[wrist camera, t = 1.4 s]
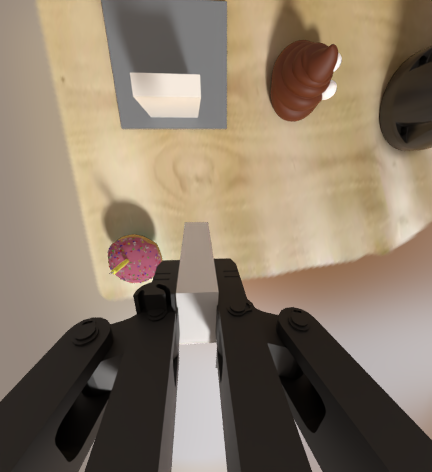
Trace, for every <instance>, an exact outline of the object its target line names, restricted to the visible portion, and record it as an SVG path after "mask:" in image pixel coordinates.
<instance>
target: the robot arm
mask: <svg viewBox="0 0 432 472" xmlns="http://www.w3.org/2000/svg"><path fill="white" fill-rule="evenodd" d="M380 125H381V130H382V133H383V135H384V137H385V139H386V140H387V142H388V143H389V144H390V145H391V146H393V147H394V148H396V149H399V150H404V151H411V150H423V149H428V148H432V46H430V47H428V48H426V49H424V50H422V51H420V52H418V53H416V54H414V55H413V56H411V57H410V58H409V59H408V60H406V61H405V62H404V63H403V64H402V65H401V66H400V68H399V69H398V70H397V71H396V73H395V74H394V75H393V77H392V79H391V80H390V82H389V84H388V86H387V88H386V90H385V93H384V96H383V99H382V103H381V109H380ZM133 297H134V301H135V306H136V312H137V314H136V315H135V316H133V317H131V318H129V319H126V320H124V321H121V322H117V323H114V324H110V323H109V322H108V321H107V320H106V319H103V318H90V319H86V320H83V321H81V322H80V323H78V324H76V325H74V326H73V327H72V328H71V329H69V330H68V331H67V332H66V333H65V334H64V335H63V336H62V337H61V338H60V339H59V340H58V341H57V343H56V344H55V345H54V346H53V347H52V348H51V349H50V350H49V351H48V352H47V353H46V354H45V355H44V356H43V357H42V359H40V361H39V362H38V363H37V364H36V365H35V366H34V367H33V368H32V369H31V370H30V371H29V372H28V373H27V374H26V375H25V376H24V377H23V378H22V380H21V381H20V382H19V383H18V384H17V385H16V386H15V387H14V388H13V389H12V390H11V391H10V392H9V393H8V394H7V395H6V396H5V397H4V399H3V400H2V401H1V402H0V472H78V471H79V469H80V467H81V465H82V463H83V462H84V459H85V457H86V456H87V454H88V452H89V450H90V448H91V446H92V444H93V442H94V440H95V442H94V445H93V448H92V451H91V454H90V457H89V460H88V463H87V466H86V469H85V472H171V467H172V453H173V439H174V425H175V410H176V397H177V396H176V395H177V383H178V382H177V381H178V368H179V345H182V344H198V343H214V342H217V357H216V358H217V359H216V368H218V376H219V387H220V398H221V408H222V419H223V430H224V441H225V451H226V462H227V472H312V470H311V467H310V464H309V461H308V458H307V456H306V453H305V450H304V447H303V444H302V441H301V438H300V436H299V433H298V430H297V427H296V424H297V425H298V427H299V429H300V430H301V433H302V435H303V436H304V438H305V440H306V442H307V444H308V446H309V447H310V449H311V451H312V453H313V455H314V457H315V459H316V460H317V462H318V464H319V465H320V468H321V470H322V471H323V472H432V440H431V439H430V438H429V437H428V436H427V435H426V434H425V433H424V432H423V431H422V429H420V427H419V426H418V425H417V424H416V423H415V422H414V421H413V420H412V419H411V418H410V417H409V416H408V415H407V414H406V413H405V412H404V411H403V410H402V409H401V408H400V407H399V406H398V404H396V403H395V401H393V399H392V398H391V397H390V396H389V395H388V394H387V393H386V392H385V391H384V390H383V389H382V388H381V387H380V386H379V385H378V384H377V383H376V382H375V381H374V380H373V379H372V377H371V376H370V375H369V374H368V373H366V371H365V370H364V369H363V368H362V367H361V366H360V365H359V364H358V363H357V362H356V361H355V360H354V359H353V358H352V357H351V355H350V354H348V352H347V351H346V350H345V349H344V348H343V347H342V346H341V345H340V344H339V343H338V342H337V341H336V340H335V339H334V338H333V337H332V336H331V335H330V334H329V333H328V332H327V330H326V329H325V328H324V327H323V326H322V325H321V324H320V323H319V322H318V321H317V320H316V319H315V318H314V317H313V316H311V315H310V314H309V313H308V312H306V311H304V310H302V309H298V308H294V307H291V308H285V309H283V310H281V312H280V314H279V315H275V314H271V313H266V312H263V311H260V310H258V309H256V308H255V307H254V306H253V304H252V303H251V302H250V301H249V300H248V299H247V297H246V294H245V291H244V288H243V285H242V281H241V278H240V275H239V272H238V269H237V266H236V264H235V263H234V262H233V261H232V260H231V259H214V258H213V251H212V245H211V238H210V231H209V225H208V222H185V226H184V234H183V241H182V249H181V257H180V260H166V261H162V262H161V263H160V264H159V265H158V266H157V267H156V271H155V275H154V277H153V281H152V283H148V284H146V285H143V286H142V287H140V288H139V289H138V290H137V291H136V292H135V294H134V295H133ZM294 420H295V421H294ZM295 422H296V424H295ZM95 438H96V439H95Z"/></svg>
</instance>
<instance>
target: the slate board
mask: <svg viewBox="0 0 432 472" xmlns="http://www.w3.org/2000/svg"><path fill="white" fill-rule="evenodd" d="M101 3H102V9H103V15H104V21H105V27H106V34H107V40H108V46H109V52H110V58H111V65H112V71H113V77H114V83H115V90H116V96H117V102H118V108H119V114H120V121H121V127H122V129H227V2H226V1H211V0H101ZM130 73H164V74H198V75H200V85H201V100H200V107H199V113H198V118H173V117H150V115H149V114H148V113H147V112H146V111H145V110H144V108H143V107H142V106H141V105H140V104H139V103H138V101H137V100H136V99H135V98H134V97H133V92H132V85H131V77H130Z"/></svg>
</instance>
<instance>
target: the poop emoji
mask: <svg viewBox="0 0 432 472" xmlns="http://www.w3.org/2000/svg"><path fill="white" fill-rule="evenodd" d="M341 61H342V58H341V55H340V53H338V49H337V47H336V45H334V44H332V45H330V46H329V47H328V46H327V45H325V44H323V43H314V42H310V41H307V40H299V41H296V42H293V43H292V44H290V45H288V46H287V47H286V48H285V49H284V50H283V51H282V52H281V54H280V55H279V57H278V58H277V60H276V62H275V65H274V68H273V72H272V85H271V101H272V105H273V108H274V110H275V112H276V113H277V115H278V116H279V117H281V118H282V119H284V120H286V121H299V120H301V119H303V118H305V117H306V116H308V115H309V114H310V113H311V112H312V111H313V110H314V109H315V107H316V106H317V104H318V103H319V102H320V101H321V100H326V99H329V98H330V97H332V96H333V95H334V93H335V92H336V90H337V84H336V82H335V81H333V80H331V78H332V75H333V72H334V71H335V70H337V68H338V67H339V66H340V64H341Z"/></svg>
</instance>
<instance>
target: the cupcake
mask: <svg viewBox="0 0 432 472" xmlns="http://www.w3.org/2000/svg"><path fill="white" fill-rule="evenodd" d="M108 260H109V261H108V263H109V267H110V269H111V270H112V271H111V273H109V274H115V275H116V276H118V277H119V278H120V279H123V280H124V281H127V282H130V283H139V282H140V283H141V282H144V281H147V280H149V279H152V277H153V276H154V275H155V271H156V267H157V266H158V265H159V264H160V263H161V262H162V256H161V253H160V250H159V247H158V245H157V244H156V243H155V242H153V241H151V240H150V239H148V238H146V237H143V236H140V235H134V234H132V235H127V236H123V237H121V238H120V239H118V240H117V241H116V242H115V243H113V244H112V245H111V246H110V248H109V250H108Z"/></svg>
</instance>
